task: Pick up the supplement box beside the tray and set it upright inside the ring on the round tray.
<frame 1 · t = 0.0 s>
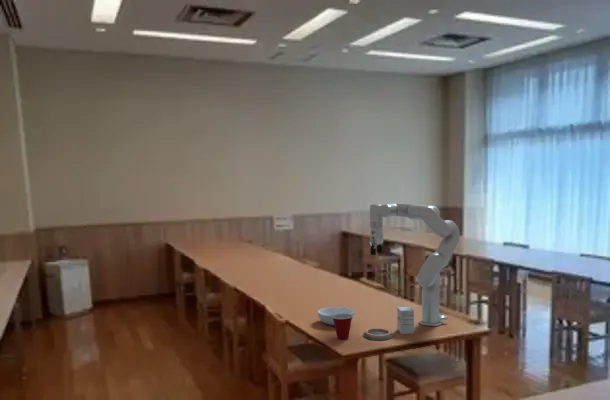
hand: (376, 253, 306), 37 cm above the table, tool pointing down, fingers open, 9 cm apart
ring tray: (378, 335, 269), on the table
serving bowl: (336, 323, 293), on the table
supplement box: (405, 332, 276), on the table
plastic cup: (342, 338, 267), on the table
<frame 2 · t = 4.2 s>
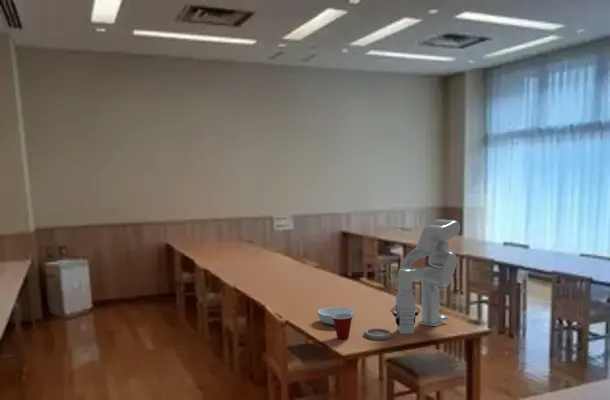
hand: (405, 324, 275), 4 cm above the table, tool pointing down, fingers closed on supplement box, 7 cm apart
supplement box: (405, 332, 276), on the table, touching gripper
everything else where it was.
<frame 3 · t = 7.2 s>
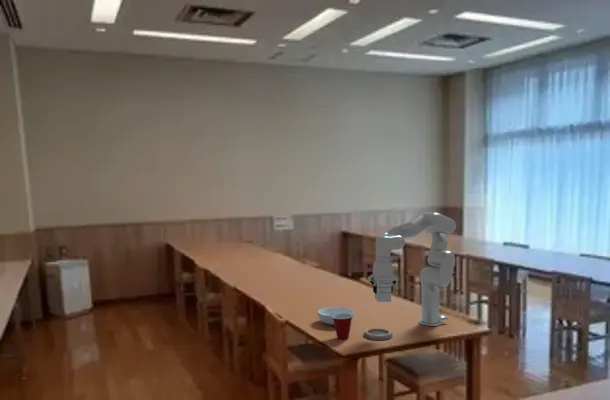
hand: (382, 292, 269), 22 cm above the table, tool pointing down, fingers closed on supplement box, 7 cm apart
supplement box: (382, 300, 269), point 18 cm above the table, touching gripper
everything else where it was.
when the fingers open (6 cm above the table, at t = 10.2 s): supplement box stays where it is, resting on ring tray.
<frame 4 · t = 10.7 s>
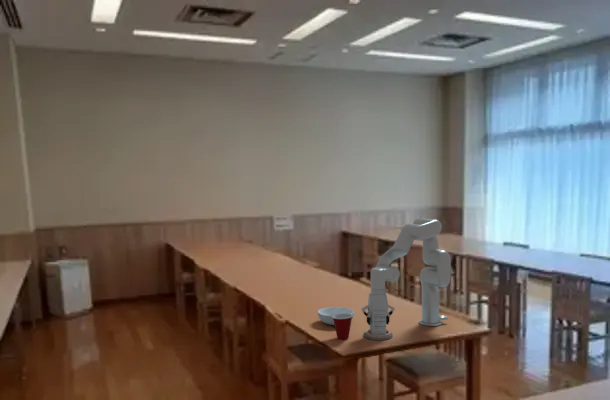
hand: (378, 324, 269), 6 cm above the table, tool pointing down, fingers open, 9 cm apart
supplement box: (378, 334, 269), point 1 cm above the table, touching ring tray
everything else where it was.
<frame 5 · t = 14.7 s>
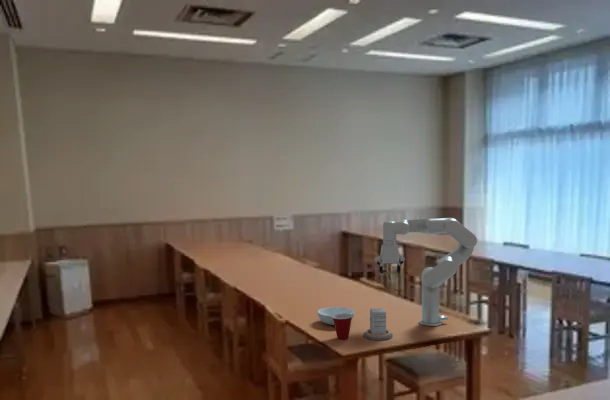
hand: (389, 272, 293), 28 cm above the table, tool pointing down, fingers open, 9 cm apart
nothing on the table moved.
at the end: supplement box 0.1 cm off-centre on the ring tray, point 0.8 cm above the ring tray's base; supplement box tilted 0°; the gripper is holding nothing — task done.
